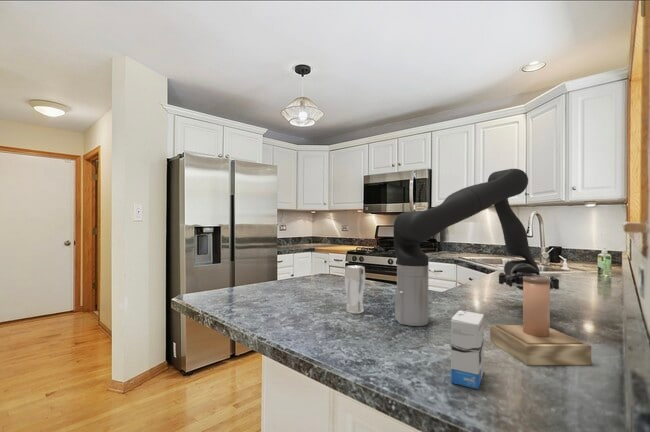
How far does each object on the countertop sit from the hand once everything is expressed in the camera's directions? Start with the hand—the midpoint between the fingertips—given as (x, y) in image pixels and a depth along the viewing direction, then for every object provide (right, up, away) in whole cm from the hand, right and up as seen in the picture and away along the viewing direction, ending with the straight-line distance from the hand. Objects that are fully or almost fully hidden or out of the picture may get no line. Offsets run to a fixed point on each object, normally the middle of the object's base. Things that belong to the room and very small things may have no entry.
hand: (529, 284), depth 85 cm
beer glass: (-44, -14, +23) cm, 52 cm away
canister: (-5, -9, -10) cm, 15 cm away
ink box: (-27, -13, -23) cm, 38 cm away
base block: (-5, -13, -10) cm, 18 cm away
